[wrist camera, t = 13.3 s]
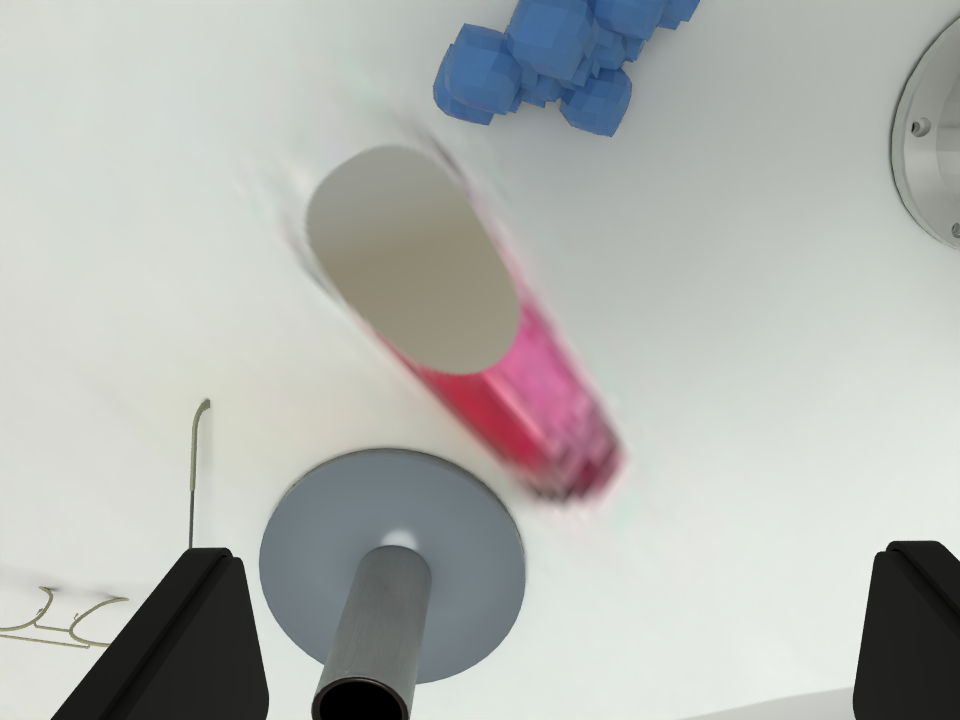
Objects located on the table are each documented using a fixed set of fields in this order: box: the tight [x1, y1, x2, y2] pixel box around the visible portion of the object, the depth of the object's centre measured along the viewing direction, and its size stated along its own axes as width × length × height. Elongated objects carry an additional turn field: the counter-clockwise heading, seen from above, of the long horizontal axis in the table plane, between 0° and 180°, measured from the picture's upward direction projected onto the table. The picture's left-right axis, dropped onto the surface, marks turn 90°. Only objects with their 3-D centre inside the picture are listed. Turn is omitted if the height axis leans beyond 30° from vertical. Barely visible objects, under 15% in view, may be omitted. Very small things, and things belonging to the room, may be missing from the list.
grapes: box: [433, 0, 700, 137], centre depth 27 cm, size 12×7×12 cm, turn 116°
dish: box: [259, 449, 525, 684], centre depth 41 cm, size 16×16×1 cm
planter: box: [311, 546, 431, 720], centre depth 36 cm, size 4×4×10 cm
